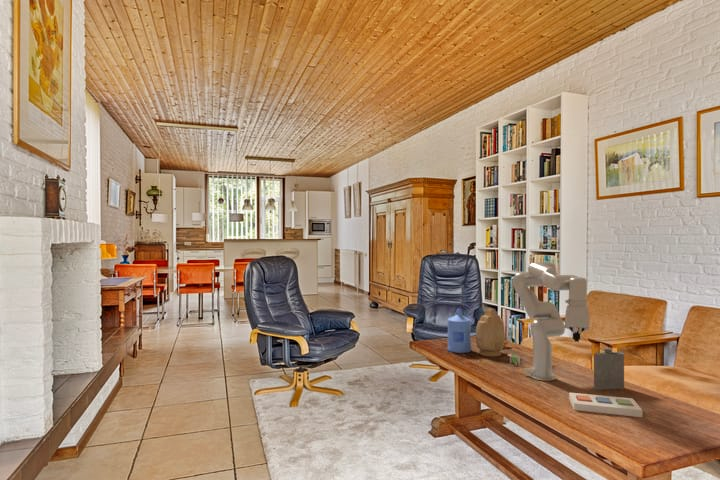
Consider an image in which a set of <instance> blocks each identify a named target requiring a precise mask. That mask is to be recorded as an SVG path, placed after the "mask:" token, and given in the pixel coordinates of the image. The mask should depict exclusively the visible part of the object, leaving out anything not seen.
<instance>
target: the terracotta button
mask: <svg viewBox="0 0 720 480" xmlns="http://www.w3.org/2000/svg"><path fill="white" fill-rule="evenodd" d="M577 400H578V401H587V402H591V398H590V397H589V396H583V395H577Z"/></svg>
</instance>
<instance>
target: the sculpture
mask: <svg viewBox="0 0 720 480" xmlns="http://www.w3.org/2000/svg"><path fill="white" fill-rule="evenodd" d="M496 311H497V310H496V308H490V307H486V308H485V310H484V314H482V315H481V316H480V317H479V320H478V321H477V323H476V330H475V341H476V343H475V344H476V346H477V348H478V349H479V351H478V354H479V355H480V356H481V355H482V356H484V357H499V356H501V355H502V353H501V351H502V350H503V349H504V348H503V347H504V342H505V338H506V336H505V335H506V333H505V325H504V324H505V323H504V320H503V319H502V318H501V316H500V315H499V314H497V312H496Z"/></svg>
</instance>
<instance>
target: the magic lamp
mask: <svg viewBox="0 0 720 480" xmlns="http://www.w3.org/2000/svg"><path fill="white" fill-rule="evenodd" d="M511 331H512V330H509V331H508V335H507V337H505V342H504V347H503V349H507V348H508V347H507V346H506V345H508V344H509V343H510V342H509V341H510V340H509V339H507V338H512V334H511ZM509 336H510V337H509Z"/></svg>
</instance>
